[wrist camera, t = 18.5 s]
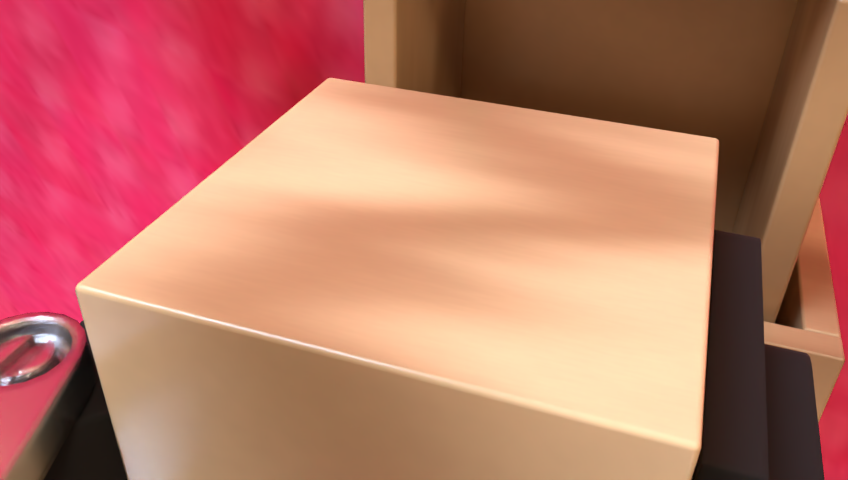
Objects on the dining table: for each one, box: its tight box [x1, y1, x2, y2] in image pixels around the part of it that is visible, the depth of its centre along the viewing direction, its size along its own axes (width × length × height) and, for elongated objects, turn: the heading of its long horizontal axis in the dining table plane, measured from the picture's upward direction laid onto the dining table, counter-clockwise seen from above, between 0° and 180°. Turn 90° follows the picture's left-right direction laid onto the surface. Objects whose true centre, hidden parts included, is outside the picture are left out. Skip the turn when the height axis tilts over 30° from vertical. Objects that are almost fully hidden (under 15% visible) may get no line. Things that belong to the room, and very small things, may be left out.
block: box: [75, 78, 719, 480], centre depth 9 cm, size 5×5×5 cm
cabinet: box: [764, 197, 845, 423], centre depth 25 cm, size 15×13×9 cm
